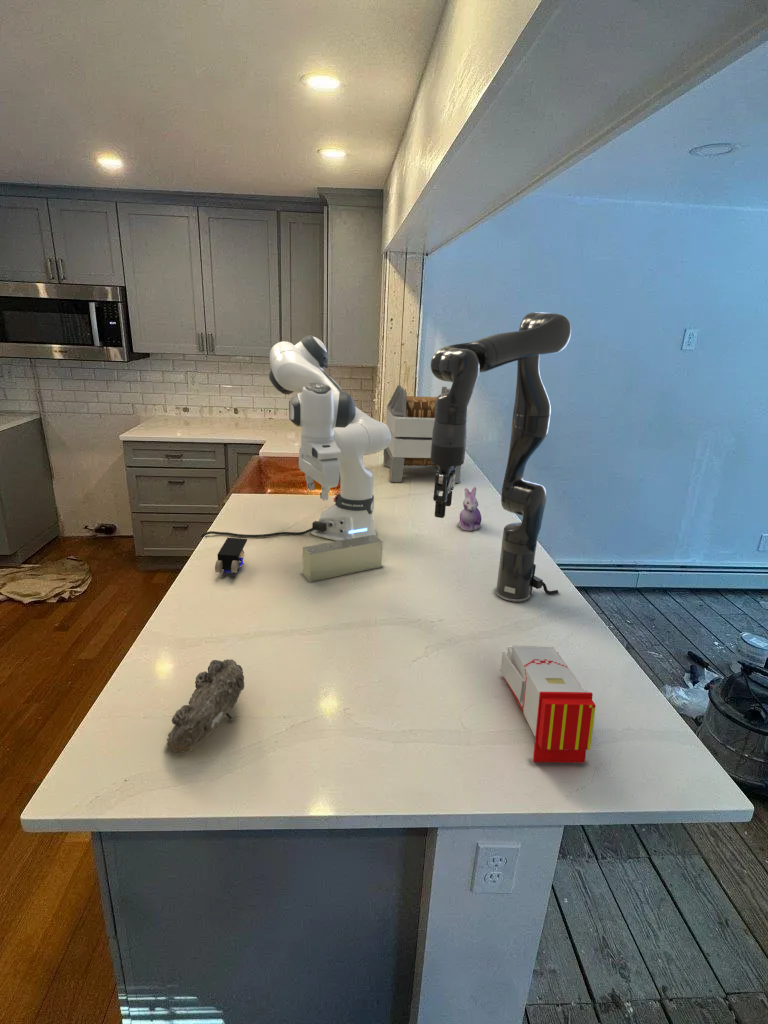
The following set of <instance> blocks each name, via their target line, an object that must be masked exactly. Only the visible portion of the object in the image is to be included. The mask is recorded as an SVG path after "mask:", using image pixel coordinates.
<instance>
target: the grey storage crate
mask: <svg viewBox="0 0 768 1024" xmlns="http://www.w3.org/2000/svg"><path fill="white" fill-rule="evenodd" d="M450 389H451V388H447V386H442V387H441V392H440V394H443V393H449V392H450ZM407 394H408V393H407V390H406V389H404V388H403V387H402V385H399V384H398V385H397V386H396V388H395V390H394V392H393V394H392V395H391V398H390V400H389V402H388V404H387V405H386V413H385V414H386V415H385V424H386V425H387V426H388V428H389V430H390V432H391V442H390V445H389V446H388V447H387V448H386V449H384V450H383V466H384V467H388V468H389V475H388V476H389V477H388V478H389V480H390V482H391V483H402V482H403V475H404V469H405V466H406V467H407V466H411V467H412V466H413V467H415V466H416V467H417V466H418V467H436V468H437V470H439V468H440V466H439V465H437V464H434V463H432V462H431V445H432V432H433V426H434V421H435V407H436V399H437V397H438V396H415V395H414V396H413V395H412V396H411V395H407ZM461 472H462V465H460V466H456V477H455V480H456V481H455V482H456V483H455V484H459V483H461Z"/></svg>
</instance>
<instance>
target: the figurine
mask: <svg viewBox="0 0 768 1024" xmlns="http://www.w3.org/2000/svg"><path fill="white" fill-rule="evenodd" d="M476 494H477V487H476V486H474V487H473V488H472V489H471V491H470V490H469V488H467V487H464V499H463V501H462V506H463V509H462V510H461V511H460V513H459V521H458V527H459V528H460V529H461V530H463V531H469V532H472V531H476V530H478V529H479V528H481V523H482V514H481V512H480V510H479V508H478V507H479V501H478V498H477V497H476Z"/></svg>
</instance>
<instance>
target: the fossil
mask: <svg viewBox="0 0 768 1024" xmlns="http://www.w3.org/2000/svg"><path fill="white" fill-rule="evenodd" d="M243 670H244V669H243V667H242V665H240V664H237V662H236V661H235V660H234V659H232V658H231V659H227V658H226V659H224V660H223V661H222V660H217V659H212V660H211V661H210V663H209V665H208V666H207V671H201V672H199V673H198V674H197V675H196V676H195V680H194V684H195V685H194V687H195V689H194V690H193V693H192V694H191V697H190V698H189V700H188V704H184V705H182V706H181V707H180V709H177V710H176V711H175V713H174V715H173V716H172V718H171V723H172V724H173V727H172V730H171V731H170V732H168V734H167V738H166V741H167V742H166V745H167V749H168V750H169V751H173V752H174V753H176V754H178V753H182V752H188V751H189V752H192V751H193V750H195V748H196V747H197V746H199V744H200V743H201V742H203V741H204V740H205V739H206V738H207V737H208V736H209V735H210V734H211V733H212V732H214V730H215V729H217V727H218V726H219V724H220V722H221V721H222V720H223V719H224V718H225V716H226V717H227V719H229V720H233V717H232V715H230V714H229V710H230V709H231V708H234V706H235V704H236V703H237V702H238V699H239V697H240V695H241V693H242V691H243V690H245V689H244V688H245V675H244V671H243Z"/></svg>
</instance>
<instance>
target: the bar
mask: <svg viewBox="0 0 768 1024" xmlns="http://www.w3.org/2000/svg"><path fill="white" fill-rule="evenodd" d="M383 542H384V541H383V540H382V539H380V538H379V537H378V536H376V535H370V536H365V537H359V538H353V539H347V540H341V541H330V542H325V543H318V544H313V545H308V546H302V575H303V576H304V577H305V578H306V579H307V581H309V582H310V583H312V582H316V581H321V580H327V579H331V578H336V577H340V576H345V575H350V574H354V573H359V572H364V571H370V570H374V569H379V568H382V566H383V565H382V563H383V562H382V561H383Z"/></svg>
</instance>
